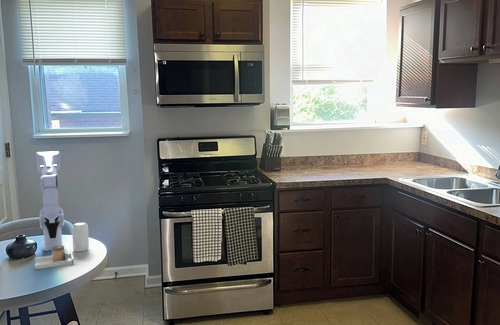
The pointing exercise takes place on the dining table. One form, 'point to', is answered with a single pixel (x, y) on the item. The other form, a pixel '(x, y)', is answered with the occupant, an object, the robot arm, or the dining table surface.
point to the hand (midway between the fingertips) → (52, 235)
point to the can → (80, 236)
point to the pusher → (66, 254)
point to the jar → (58, 253)
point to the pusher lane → (48, 261)
